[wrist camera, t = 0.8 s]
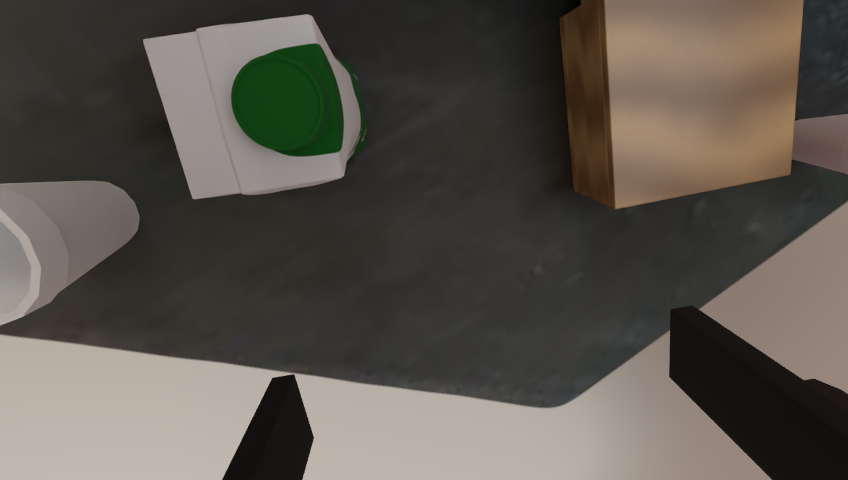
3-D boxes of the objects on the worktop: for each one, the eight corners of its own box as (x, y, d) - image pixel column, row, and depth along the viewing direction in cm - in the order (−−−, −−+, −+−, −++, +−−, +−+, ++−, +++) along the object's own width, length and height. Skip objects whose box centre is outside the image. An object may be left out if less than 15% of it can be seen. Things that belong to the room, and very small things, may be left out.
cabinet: (558, 18, 35) (603, -10, 28) (717, -15, 35) (808, -52, 27) (573, 190, 40) (615, 209, 32) (714, 162, 40) (791, 174, 32)
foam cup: (87, 273, 40) (-54, 345, 28) (29, 185, 38) (-157, 221, 25) (175, 241, 40) (71, 298, 27) (122, 148, 37) (-21, 166, 25)
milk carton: (377, 154, 38) (351, 195, 19) (281, 168, 38) (158, 224, 19) (360, 52, 36) (309, -19, 16) (256, 67, 36) (85, 14, 16)
